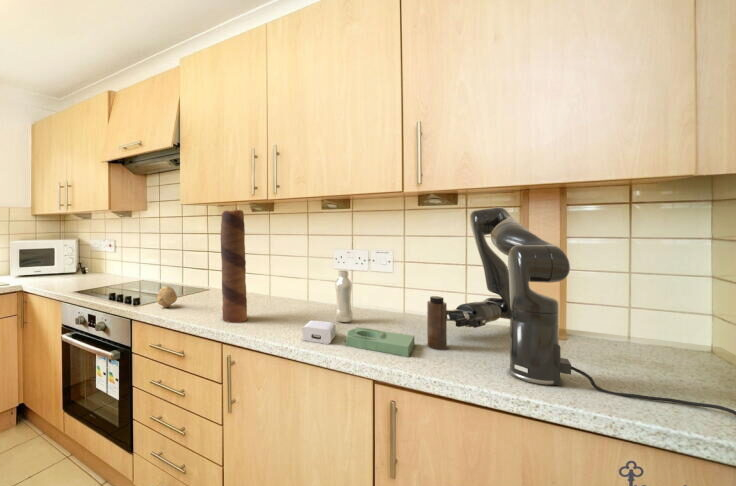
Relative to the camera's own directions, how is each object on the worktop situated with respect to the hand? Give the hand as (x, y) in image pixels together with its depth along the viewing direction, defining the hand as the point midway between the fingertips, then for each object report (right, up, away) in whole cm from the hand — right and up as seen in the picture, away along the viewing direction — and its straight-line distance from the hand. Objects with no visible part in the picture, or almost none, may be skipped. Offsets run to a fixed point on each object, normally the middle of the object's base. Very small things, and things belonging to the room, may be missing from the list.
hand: (443, 320), depth 114 cm
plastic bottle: (-22, -8, +29) cm, 37 cm away
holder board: (-20, -8, +1) cm, 21 cm away
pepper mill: (-3, -8, -1) cm, 9 cm away
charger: (-36, -9, +11) cm, 38 cm away
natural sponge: (-96, -9, +57) cm, 112 cm away
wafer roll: (-65, -9, +33) cm, 74 cm away
